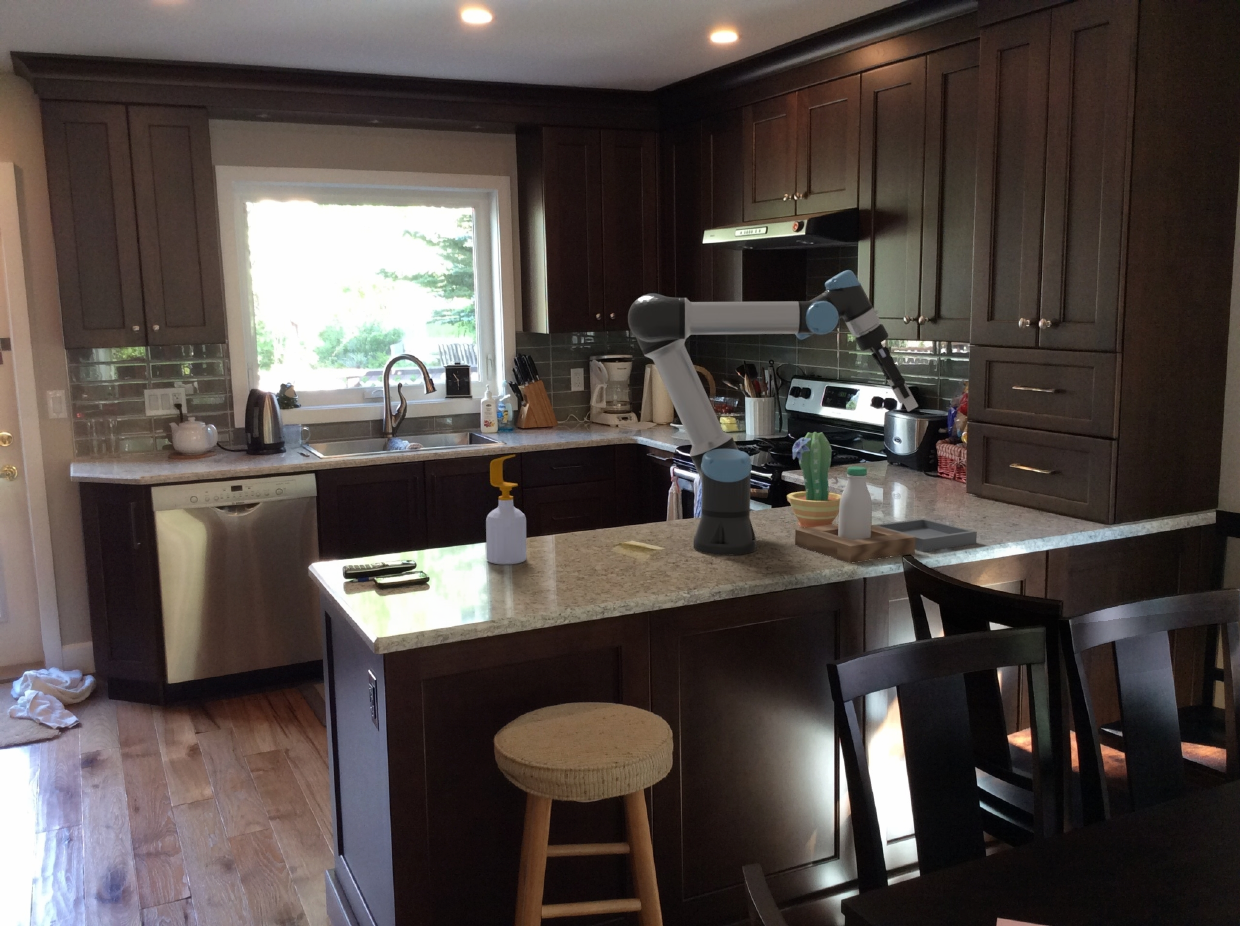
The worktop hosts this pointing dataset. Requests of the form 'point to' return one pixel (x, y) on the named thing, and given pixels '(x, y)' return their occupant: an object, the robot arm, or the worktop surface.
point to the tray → (932, 534)
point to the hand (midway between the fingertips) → (909, 404)
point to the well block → (855, 543)
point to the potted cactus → (814, 483)
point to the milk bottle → (855, 506)
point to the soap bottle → (505, 523)
